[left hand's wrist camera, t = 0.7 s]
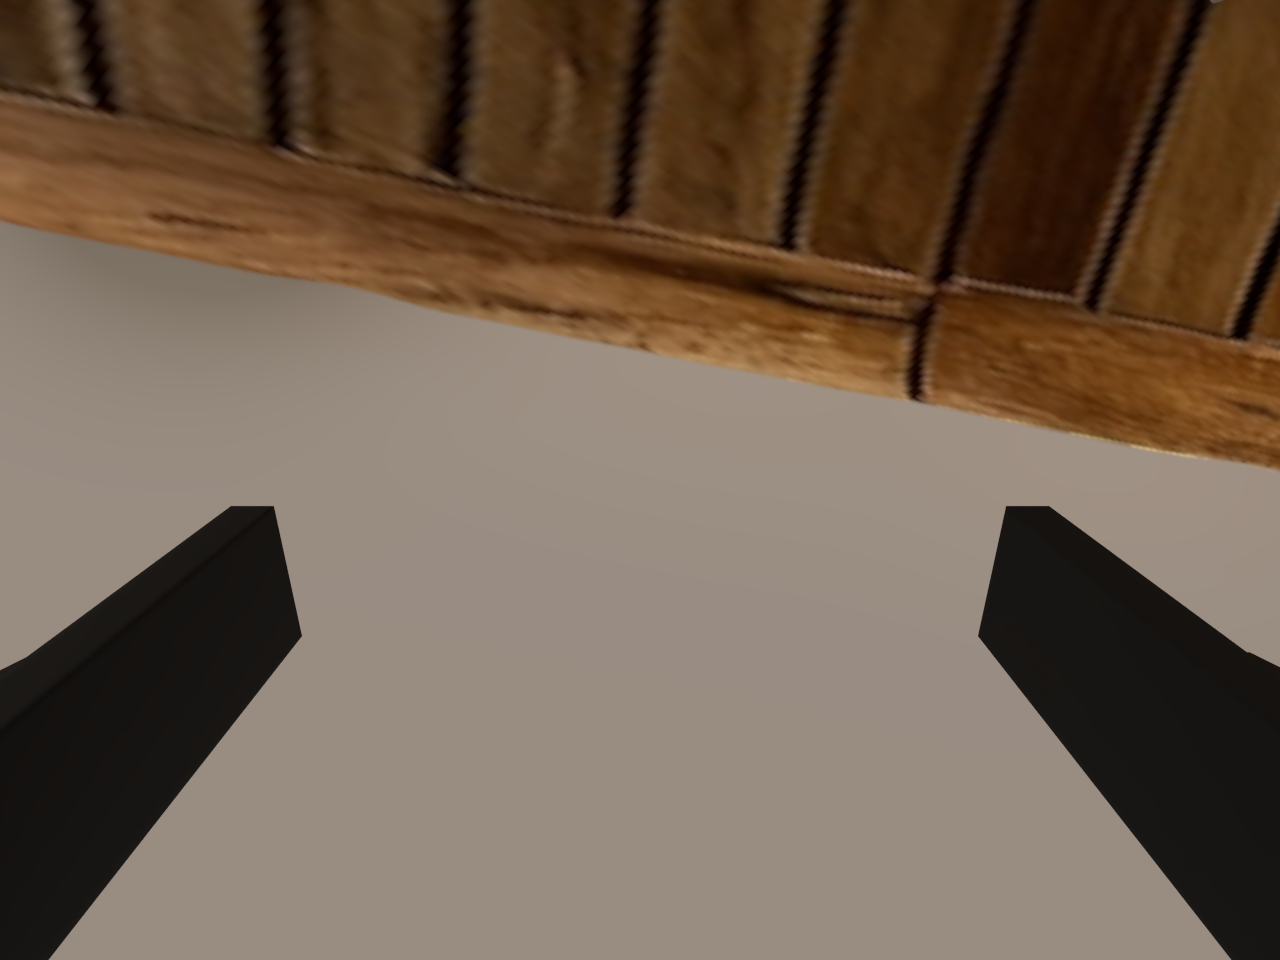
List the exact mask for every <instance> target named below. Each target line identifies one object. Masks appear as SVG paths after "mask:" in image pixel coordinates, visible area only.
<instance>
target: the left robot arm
mask: <svg viewBox="0 0 1280 960" xmlns="http://www.w3.org/2000/svg"><path fill="white" fill-rule="evenodd" d="M301 637H302V634H301V630H300V625H299V620H298V616H297V611H296V607H295V602H294V597H293V593H292V588H291V584H290V579H289V574H288V570H287V565H286V561H285V556H284V551H283V547H282V542H281V537H280V533H279V528H278V524H277V519H276V514H275V510H274V506H231V507H229V508H228V509H227V510H225V511H224V512H223V513H221V514H220V515H218V516H217V517H216V518H214V519H213V520H212V521H210V522H209V523H208V524H206V525H205V526H204V527H202V528H201V529H199V530H198V531H197V532H195V533H194V534H193V535H191V536H190V537H189V538H187V539H186V540H185V541H183V542H182V543H181V544H179V545H178V546H176V547H175V548H174V549H172V550H171V551H170V552H168V553H167V554H166V555H164V556H163V557H162V558H160V559H159V560H158V561H156V562H155V563H154V564H152V565H151V566H149V567H148V568H147V569H145V570H144V571H143V572H141V573H140V574H139V575H137V576H136V577H134V578H133V579H132V580H130V581H129V582H128V583H126V584H125V585H124V586H122V587H121V588H120V589H118V590H117V591H116V592H114V593H113V594H111V595H110V596H109V597H107V598H106V599H105V600H103V601H102V602H101V603H99V604H98V605H97V606H95V607H94V608H93V609H91V610H90V611H89V612H87V613H86V614H84V615H83V616H82V617H80V618H79V619H78V620H76V621H75V622H74V623H72V624H71V625H70V626H68V627H67V628H66V629H64V630H63V631H61V632H60V633H59V634H57V635H56V636H55V637H53V638H52V639H51V640H49V641H48V642H47V643H45V644H44V645H42V646H41V647H40V648H38V649H37V650H36V651H34V652H33V653H32V654H30V655H29V656H28V657H26V658H24V659H22V660H20V661H18V662H16V663H14V664H12V665H10V666H8V667H6V668H4V669H2V670H0V960H49V958H50V957H51V956H52V955H53V953H54V952H55V951H56V949H57V948H58V947H59V946H60V944H61V943H62V942H63V941H64V939H65V938H66V937H67V935H68V934H69V933H70V932H71V930H72V929H73V928H74V927H75V925H76V924H77V923H78V921H79V920H80V919H81V917H82V916H83V915H84V914H85V912H86V911H87V910H88V909H89V907H90V906H91V905H92V904H93V902H94V901H95V900H96V898H97V897H98V896H99V894H100V893H101V892H102V891H103V889H104V888H105V887H106V886H107V884H108V883H109V882H110V880H111V879H112V878H113V877H114V875H115V874H116V873H117V871H118V870H119V869H120V868H121V866H122V865H123V864H124V863H125V861H126V860H127V859H128V857H129V856H130V855H131V854H132V852H133V851H134V850H135V849H136V847H137V846H138V845H139V843H140V842H141V841H142V840H143V838H144V837H145V836H146V834H147V833H148V832H149V831H150V829H151V828H152V827H153V825H154V824H155V823H156V822H157V820H158V819H159V818H160V817H161V815H162V814H163V813H164V811H165V810H166V809H167V808H168V806H169V805H170V804H171V803H172V801H173V800H174V799H175V797H176V796H177V795H178V794H179V792H180V791H181V790H182V789H183V787H184V786H185V785H186V783H187V782H188V781H189V780H190V778H191V777H192V776H193V774H194V773H195V772H196V771H197V769H198V768H199V767H200V765H201V764H202V763H203V762H204V760H205V759H206V758H207V757H208V755H209V754H210V753H211V751H212V750H213V749H214V748H215V746H216V745H217V744H218V743H219V741H220V740H221V739H222V737H223V736H224V735H225V734H226V732H227V731H228V730H229V729H230V727H231V726H232V725H233V723H234V722H235V721H236V720H237V718H238V717H239V716H240V714H241V713H242V712H243V711H244V709H245V708H246V707H247V705H248V704H249V703H250V702H251V700H252V699H253V698H254V696H255V695H256V694H257V693H258V691H259V690H260V689H261V688H262V686H263V685H264V684H265V683H266V681H267V680H268V679H269V677H270V676H271V675H272V674H273V672H274V671H275V670H276V668H277V667H278V666H279V665H280V663H281V662H282V661H283V660H284V658H285V657H286V656H287V654H288V653H289V652H290V651H291V649H292V648H293V647H294V645H295V644H296V643H297V642H298V640H299V639H300V638H301ZM978 637H979V638H980V639H981V640H982V642H983V643H984V644H985V645H986V647H987V648H988V649H989V651H990V652H991V653H992V654H993V656H994V657H995V658H996V660H997V661H998V662H999V663H1000V665H1001V666H1002V667H1003V668H1004V670H1005V671H1006V672H1007V674H1008V675H1009V676H1010V677H1011V679H1012V680H1013V681H1014V682H1015V684H1016V685H1017V686H1018V688H1019V689H1020V690H1021V691H1022V693H1023V694H1024V695H1025V697H1026V698H1027V699H1028V700H1029V702H1030V703H1031V704H1032V706H1033V707H1034V708H1035V709H1036V711H1037V712H1038V713H1039V714H1040V716H1041V717H1042V718H1043V720H1044V721H1045V722H1046V723H1047V725H1048V726H1049V727H1050V728H1051V730H1052V731H1053V732H1054V734H1055V735H1056V736H1057V737H1058V739H1059V740H1060V741H1061V743H1062V744H1063V745H1064V746H1065V748H1066V749H1067V750H1068V752H1069V753H1070V754H1071V755H1072V757H1073V758H1074V759H1075V760H1076V762H1077V763H1078V764H1079V766H1080V767H1081V768H1082V769H1083V771H1084V772H1085V773H1086V774H1087V776H1088V777H1089V778H1090V780H1091V781H1092V782H1093V783H1094V785H1095V786H1096V787H1097V789H1098V790H1099V791H1100V792H1101V794H1102V795H1103V796H1104V797H1105V799H1106V800H1107V801H1108V803H1109V804H1110V805H1111V806H1112V808H1113V809H1114V810H1115V812H1116V813H1117V814H1118V815H1119V817H1120V818H1121V819H1122V820H1123V822H1124V823H1125V824H1126V826H1127V827H1128V828H1129V829H1130V831H1131V832H1132V833H1133V835H1134V836H1135V837H1136V838H1137V840H1138V841H1139V842H1140V843H1141V845H1142V846H1143V847H1144V849H1145V850H1146V851H1147V852H1148V854H1149V855H1150V856H1151V858H1152V859H1153V860H1154V861H1155V863H1156V864H1157V865H1158V866H1159V868H1160V869H1161V870H1162V872H1163V873H1164V874H1165V875H1166V877H1167V878H1168V879H1169V880H1170V882H1171V883H1172V884H1173V886H1174V887H1175V888H1176V889H1177V891H1178V892H1179V893H1180V895H1181V896H1182V897H1183V898H1184V900H1185V901H1186V902H1187V904H1188V905H1189V906H1190V907H1191V909H1192V910H1193V911H1194V912H1195V914H1196V915H1197V916H1198V918H1199V919H1200V920H1201V921H1202V923H1203V924H1204V925H1205V926H1206V928H1207V929H1208V930H1209V932H1210V933H1211V934H1212V935H1213V937H1214V938H1215V939H1216V941H1217V942H1218V943H1219V944H1220V946H1221V947H1222V948H1223V949H1224V951H1225V952H1226V953H1227V955H1228V956H1229V957H1230V958H1231V960H1280V667H1278V666H1276V665H1274V664H1272V663H1270V662H1268V661H1266V660H1264V659H1262V658H1260V657H1258V656H1256V655H1254V654H1252V653H1250V652H1246V651H1244V650H1243V649H1242V648H1240V647H1239V646H1238V645H1236V644H1235V643H1234V642H1232V641H1231V640H1229V639H1228V638H1227V637H1225V636H1224V635H1223V634H1221V633H1220V632H1219V631H1217V630H1216V629H1215V628H1213V627H1212V626H1210V625H1209V624H1208V623H1206V622H1205V621H1204V620H1202V619H1201V618H1200V617H1198V616H1197V615H1195V614H1194V613H1193V612H1192V611H1190V610H1189V609H1187V608H1186V607H1185V606H1183V605H1182V604H1181V603H1179V602H1178V601H1177V600H1175V599H1174V598H1173V597H1171V596H1170V595H1168V594H1167V593H1166V592H1164V591H1163V590H1162V589H1160V588H1159V587H1158V586H1156V585H1155V584H1154V583H1152V582H1151V581H1150V580H1148V579H1147V578H1145V577H1144V576H1143V575H1141V574H1140V573H1139V572H1137V571H1136V570H1135V569H1133V568H1132V567H1131V566H1129V565H1128V564H1127V563H1125V562H1124V561H1122V560H1121V559H1120V558H1118V557H1117V556H1116V555H1114V554H1113V553H1112V552H1110V551H1109V550H1108V549H1106V548H1105V547H1104V546H1102V545H1101V544H1099V543H1098V542H1097V541H1095V540H1094V539H1093V538H1091V537H1090V536H1089V535H1087V534H1086V533H1085V532H1083V531H1082V530H1081V529H1079V528H1078V527H1076V526H1075V525H1074V524H1072V523H1071V522H1070V521H1068V520H1067V519H1066V518H1064V517H1063V516H1061V515H1060V514H1059V513H1057V512H1056V511H1055V510H1053V509H1052V508H1051V507H1049V506H1006V510H1005V514H1004V519H1003V524H1002V528H1001V533H1000V537H999V542H998V547H997V551H996V556H995V560H994V565H993V570H992V574H991V579H990V584H989V588H988V593H987V597H986V602H985V607H984V611H983V616H982V621H981V625H980V630H979V635H978Z"/></svg>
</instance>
